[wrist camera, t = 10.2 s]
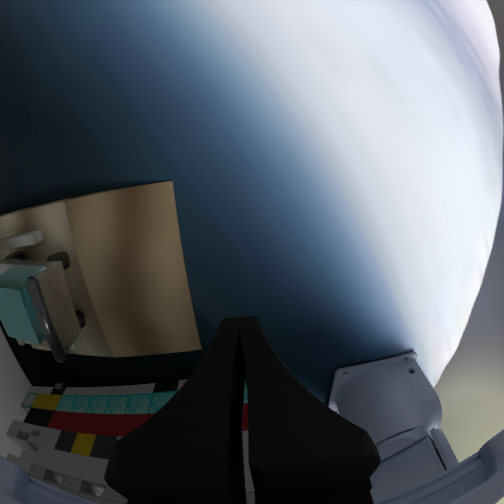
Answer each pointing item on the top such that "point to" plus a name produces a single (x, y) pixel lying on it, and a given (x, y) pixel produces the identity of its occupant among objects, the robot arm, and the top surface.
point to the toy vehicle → (92, 432)
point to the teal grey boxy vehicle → (39, 302)
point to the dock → (114, 267)
